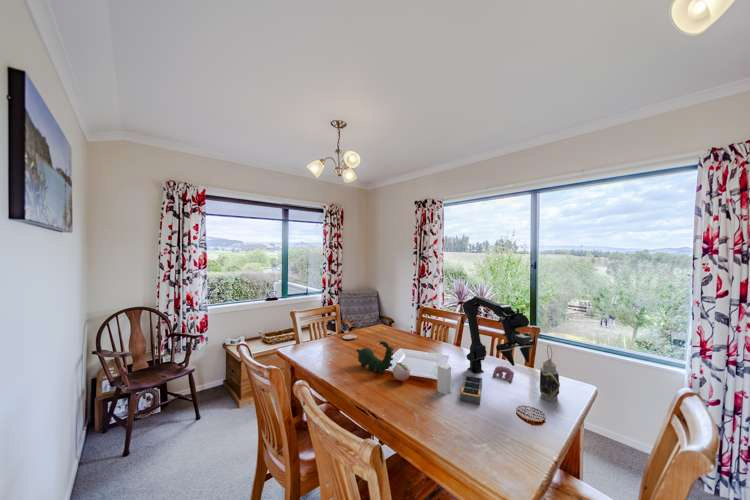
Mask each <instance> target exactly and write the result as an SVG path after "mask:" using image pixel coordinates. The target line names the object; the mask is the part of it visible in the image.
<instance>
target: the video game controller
mask: <svg viewBox="0 0 750 500" xmlns="http://www.w3.org/2000/svg"><path fill="white" fill-rule="evenodd" d="M497 375H498V377H500V378H503V377H504V378H505V379H506V380H508V382H509V383H512V382H513V379H514V375H515V373H514V371H513V370H512V369H511V368H509V367H506V366H503V365H498V366H495V368H494V370H493V373H492V377H493V378H495V377H496V376H497Z"/></svg>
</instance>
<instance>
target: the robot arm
mask: <svg viewBox="0 0 750 500" xmlns="http://www.w3.org/2000/svg"><path fill="white" fill-rule="evenodd" d="M480 307H484V308H485V309H487V310H490V311H492V312H493V314H494V315H495V316H497V317H499V319H498V321H497V323H498V324H501V326H502V329H503V334H502V336H503V337H505V339H506V342H505V343H501V344H496V346H495V348H496V351H497V352H499V353H500V354H501V355H503V356H504V357H505V359H507V361H508V362H509V363H510V364H511V366H512V367H515V365H516V364H515V361H514V357H513V349H512V348H518V347H519V352H521V355H522V356H523V358H524V360H525V362H526V363H527V364H529V363H530V352H531V351H530V350H531V349H532V348H533V347H534V345H535V343H534V340H533V337H532V335H531V333H530V332H525V333H524V334H521V332H520V331H519V330H518V329H522V328H526V327H529V325H530V321H529V318H528V317H527V315H525V314H524V313H523V312H522V311H521V312H520V311H519V312H516V311H515V310H514V309H513V308H512V306H511V305H510V304H505V303H500V302H499V303H498V302H495V301H494V300H490V299H489V298H486V297H484V296H482V295H476V296H473V297H472V298H470V299H468V300H467V301H464V302H463V304H462V310H463V313H464V314H465V316H466V317H467V322H468V328H469V333H470V335H469V336H470V341H471V343H470V346H469V353H467V354H466V360H468V361H469V367H467V370H469V371H470V372H472V373H473V374H479V373H484V372H485V371H484V370H483V369H482V361H485V358H486V356H487V353H488V352H487V349H486V348H487V346H486V345H484V344H483V343H482V342H481V340H482V339H481V335H480V330H479V323H478V318H477V316H478V314H479V308H480Z"/></svg>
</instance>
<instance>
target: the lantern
mask: <svg viewBox="0 0 750 500" xmlns="http://www.w3.org/2000/svg"><path fill="white" fill-rule="evenodd" d="M549 347H550V352H551V357H550V356H549ZM546 350H547V351H546V353H547V360H545V361H543V362H542V365H543V366H541V367H540V368H539V370H540V372H539V374H540V375H539V391H540V397H541V398H542V399H543V400H545V401H547V402H552V403H553V402H554V403H555V402H558V401H559V400H558V395H559V394H560V386H561V382H560V377H559V376H560V375H559V371H558V370H557V364H556V363H554V362H553V361H552V358H553V350H552V347H551V345H550V344H547V349H546Z"/></svg>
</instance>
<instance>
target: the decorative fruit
mask: <svg viewBox="0 0 750 500" xmlns="http://www.w3.org/2000/svg"><path fill="white" fill-rule="evenodd" d="M392 374H393V376H394V378H395V379H396V380H398V381H400V382H403V381H406V380H408V379H409V377H410V375H411V369H410V367H409V366H408V365H406V364H403V363H402V361H401V362H398V361H397V362H395V365H394V367H393V368H392Z"/></svg>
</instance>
